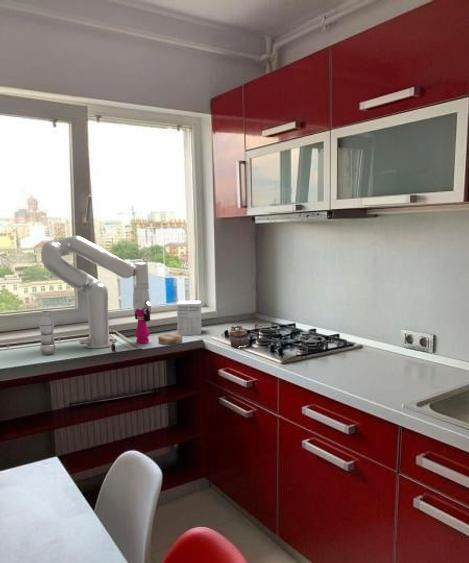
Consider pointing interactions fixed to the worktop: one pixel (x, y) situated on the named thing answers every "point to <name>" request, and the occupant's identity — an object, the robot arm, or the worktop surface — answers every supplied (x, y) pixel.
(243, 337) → the cupcake
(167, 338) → the walnut pedestal
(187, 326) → the supplement box
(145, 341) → the pepper mill
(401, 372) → the worktop surface
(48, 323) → the plastic bottle
